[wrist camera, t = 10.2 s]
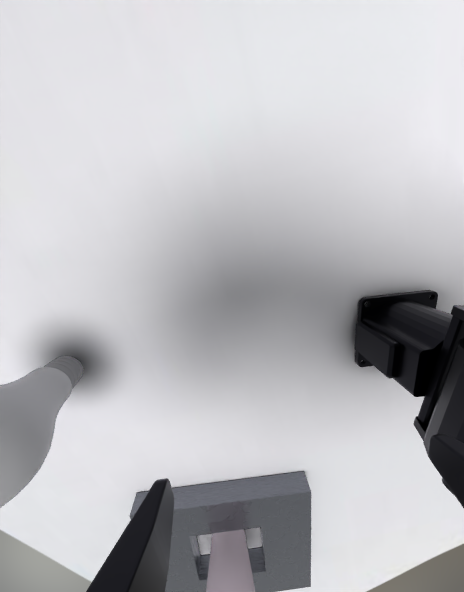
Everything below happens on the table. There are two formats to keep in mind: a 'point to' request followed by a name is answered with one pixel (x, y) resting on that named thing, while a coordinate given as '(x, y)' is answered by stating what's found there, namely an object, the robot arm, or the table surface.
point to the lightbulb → (31, 421)
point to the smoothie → (229, 563)
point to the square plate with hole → (243, 515)
